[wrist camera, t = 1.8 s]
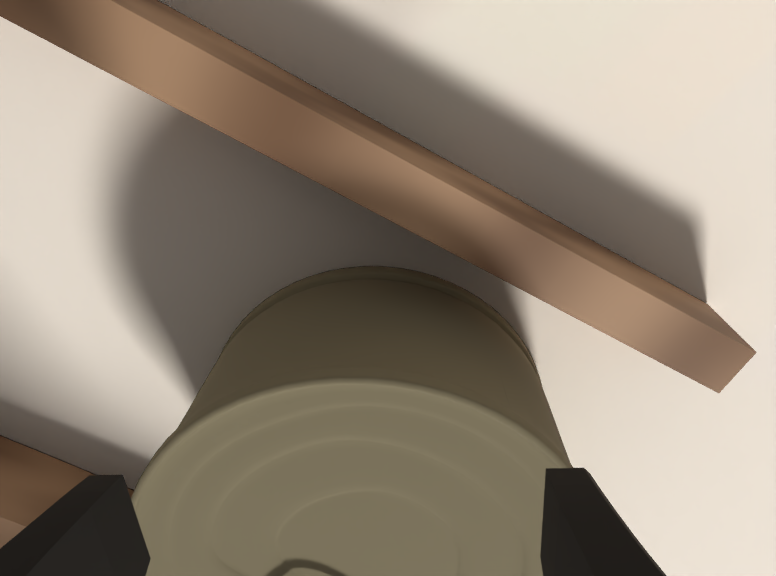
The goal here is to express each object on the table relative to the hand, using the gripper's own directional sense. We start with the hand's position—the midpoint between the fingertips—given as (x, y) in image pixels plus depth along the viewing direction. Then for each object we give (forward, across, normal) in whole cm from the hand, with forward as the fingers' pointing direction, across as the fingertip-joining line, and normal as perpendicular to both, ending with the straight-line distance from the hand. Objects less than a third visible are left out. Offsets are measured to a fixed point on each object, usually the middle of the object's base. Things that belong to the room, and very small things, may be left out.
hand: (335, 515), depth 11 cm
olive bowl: (+10, 0, +6) cm, 11 cm away
